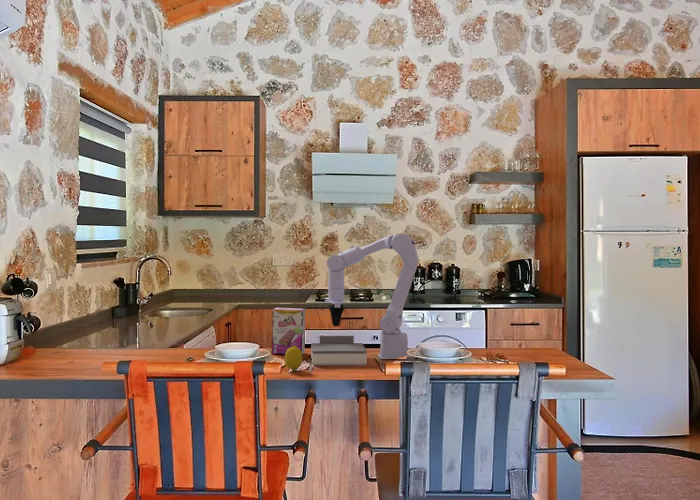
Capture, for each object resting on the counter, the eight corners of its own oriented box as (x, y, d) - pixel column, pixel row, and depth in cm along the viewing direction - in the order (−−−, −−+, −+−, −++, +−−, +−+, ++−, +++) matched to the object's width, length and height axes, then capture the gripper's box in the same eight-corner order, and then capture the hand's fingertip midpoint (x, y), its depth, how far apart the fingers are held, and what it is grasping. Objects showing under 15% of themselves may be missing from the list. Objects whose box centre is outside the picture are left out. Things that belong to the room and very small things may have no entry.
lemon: (299, 373, 174) (300, 347, 174) (282, 372, 175) (282, 346, 175) (304, 369, 179) (304, 344, 179) (287, 368, 180) (288, 343, 180)
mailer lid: (361, 344, 200) (362, 335, 200) (366, 352, 186) (367, 343, 186) (311, 344, 199) (311, 335, 198) (312, 352, 184) (312, 343, 184)
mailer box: (361, 356, 200) (361, 345, 200) (366, 365, 186) (366, 353, 186) (311, 357, 198) (311, 345, 198) (312, 365, 184) (312, 353, 184)
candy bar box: (271, 354, 202) (272, 309, 201) (274, 352, 207) (275, 307, 206) (302, 355, 201) (303, 309, 200) (304, 353, 206) (305, 308, 205)
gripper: (324, 286, 211) (323, 322, 211) (326, 289, 197) (325, 328, 197) (343, 286, 212) (342, 322, 212) (346, 289, 197) (345, 328, 198)
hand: (335, 325), depth 205 cm, fingers open, 4 cm apart
